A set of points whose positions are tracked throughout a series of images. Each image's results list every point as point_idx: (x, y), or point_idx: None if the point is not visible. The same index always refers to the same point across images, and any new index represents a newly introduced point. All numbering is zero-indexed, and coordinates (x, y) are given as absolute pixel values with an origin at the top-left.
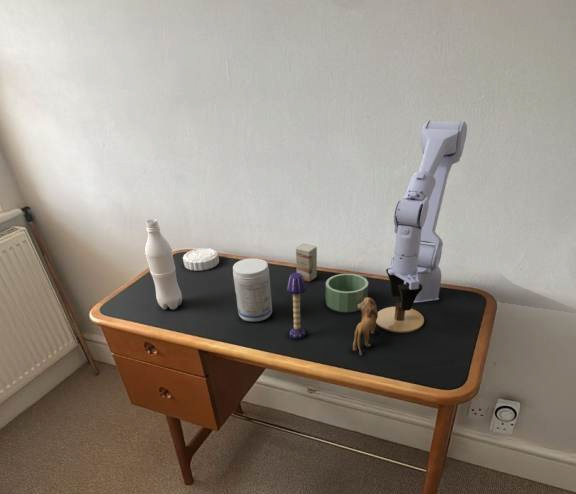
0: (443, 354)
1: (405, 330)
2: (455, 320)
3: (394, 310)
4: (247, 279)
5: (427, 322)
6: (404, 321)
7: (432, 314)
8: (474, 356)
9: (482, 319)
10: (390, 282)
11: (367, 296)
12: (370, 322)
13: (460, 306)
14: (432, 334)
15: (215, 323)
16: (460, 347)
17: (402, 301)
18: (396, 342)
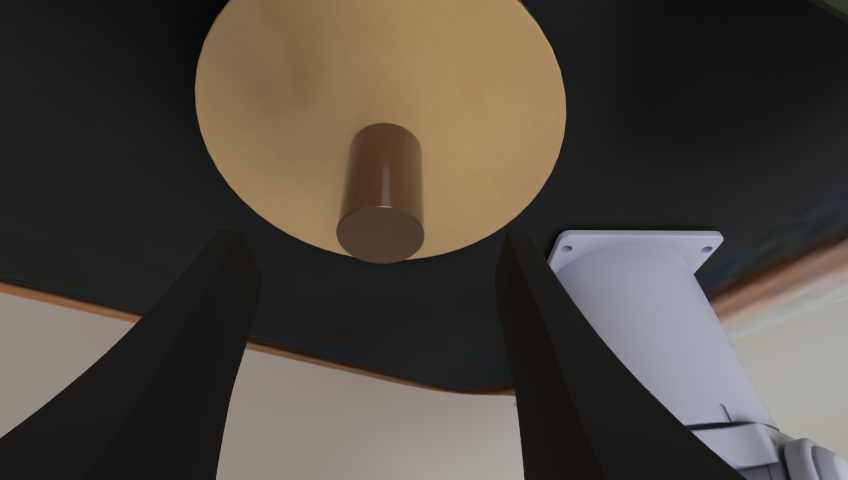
0: (31, 226)
1: (207, 140)
2: (354, 323)
3: (501, 156)
4: None
5: None
6: (336, 169)
7: (422, 283)
8: (69, 302)
9: (348, 367)
10: (582, 353)
11: (831, 11)
12: None
13: (450, 352)
14: None
15: None
16: (130, 288)
17: (138, 321)
18: (75, 23)
